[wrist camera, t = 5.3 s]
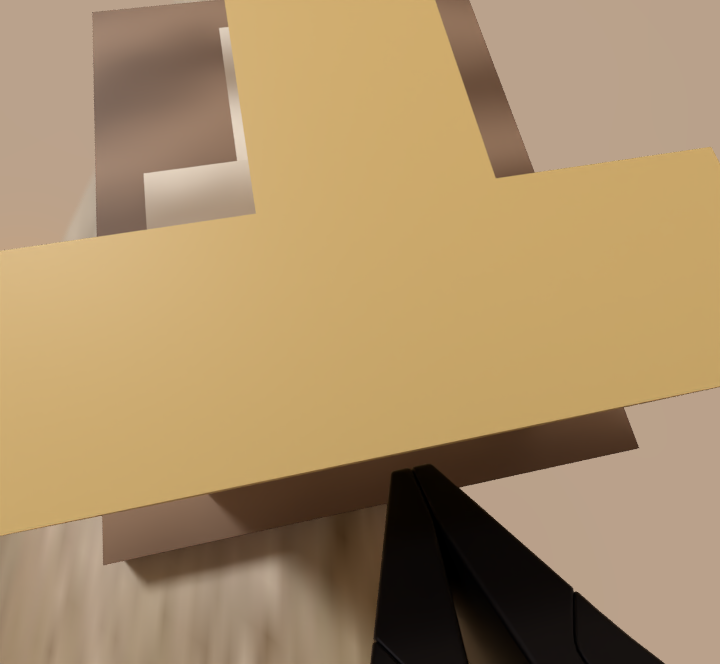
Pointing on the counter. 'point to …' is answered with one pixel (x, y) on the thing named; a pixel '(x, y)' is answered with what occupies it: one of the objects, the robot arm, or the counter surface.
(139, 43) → the walnut board
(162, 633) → the counter surface
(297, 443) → the t block
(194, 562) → the counter surface
